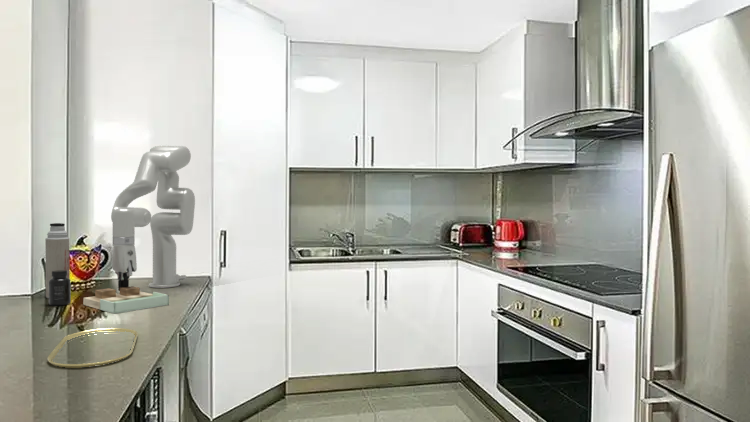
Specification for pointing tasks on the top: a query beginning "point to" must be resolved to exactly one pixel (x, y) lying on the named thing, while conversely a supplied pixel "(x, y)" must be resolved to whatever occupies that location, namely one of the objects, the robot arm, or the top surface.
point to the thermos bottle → (56, 252)
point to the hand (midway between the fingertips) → (123, 290)
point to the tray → (135, 303)
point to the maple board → (111, 299)
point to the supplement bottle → (59, 288)
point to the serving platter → (62, 342)
